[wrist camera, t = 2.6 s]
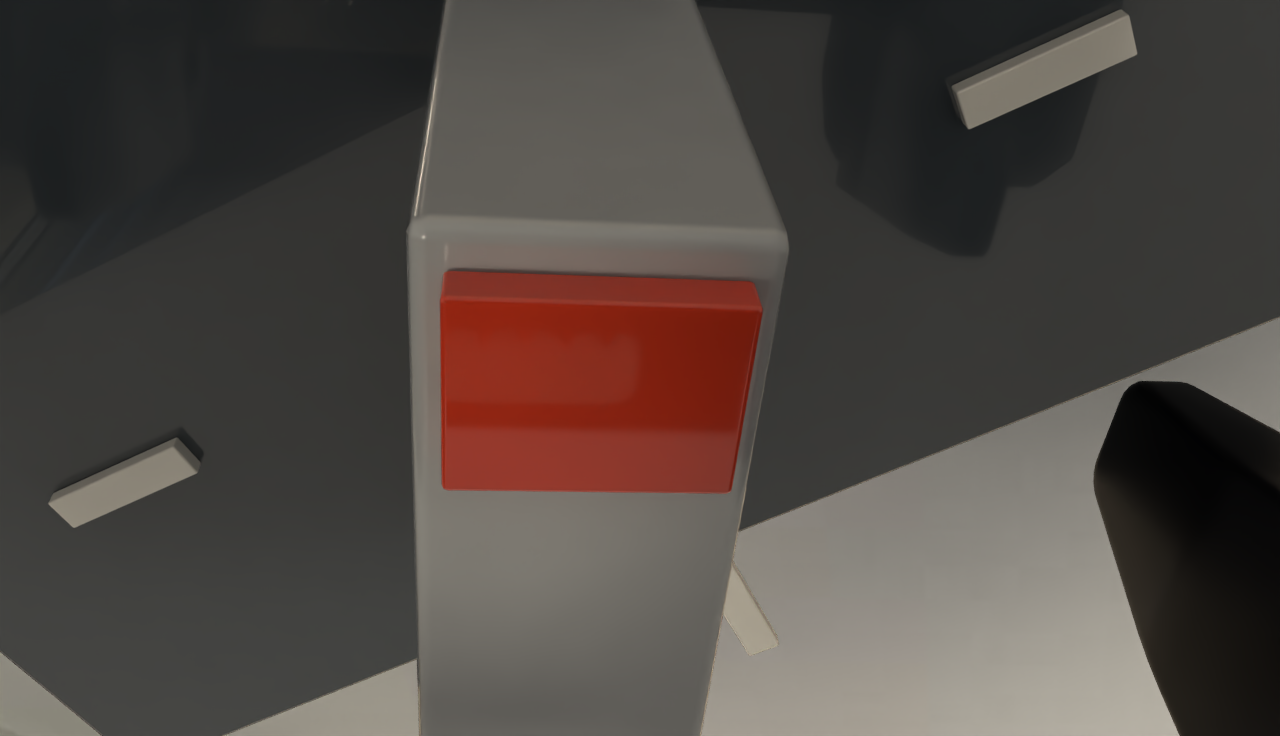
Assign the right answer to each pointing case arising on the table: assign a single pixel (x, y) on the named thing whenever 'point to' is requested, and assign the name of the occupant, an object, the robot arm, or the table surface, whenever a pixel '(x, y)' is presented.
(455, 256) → the grey and red block
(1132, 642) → the table surface
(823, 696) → the table surface
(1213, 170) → the dark grey flat block
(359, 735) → the table surface
